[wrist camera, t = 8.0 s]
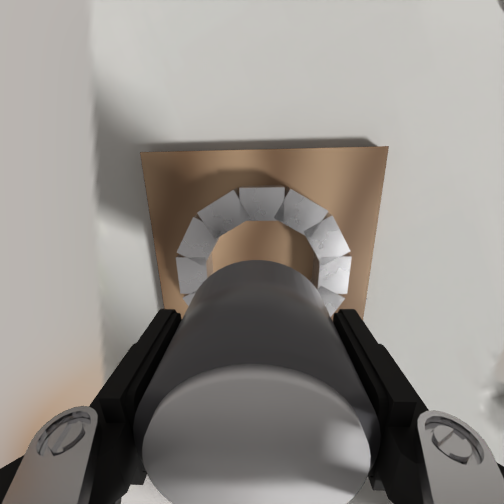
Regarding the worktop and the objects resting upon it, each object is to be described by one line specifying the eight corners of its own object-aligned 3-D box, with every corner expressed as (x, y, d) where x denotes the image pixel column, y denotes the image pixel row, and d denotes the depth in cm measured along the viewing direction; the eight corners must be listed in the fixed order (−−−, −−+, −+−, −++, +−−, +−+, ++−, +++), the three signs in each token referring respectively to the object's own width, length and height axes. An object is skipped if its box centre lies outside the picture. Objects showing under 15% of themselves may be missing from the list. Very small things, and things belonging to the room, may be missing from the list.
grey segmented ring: (348, 183, 16) (359, 185, 14) (333, 330, 20) (340, 347, 18) (177, 187, 17) (166, 189, 15) (193, 328, 20) (186, 345, 18)
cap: (329, 256, 10) (409, 359, 4) (323, 374, 12) (373, 539, 6) (179, 263, 10) (93, 366, 5) (198, 377, 12) (152, 537, 7)
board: (379, 147, 16) (388, 146, 15) (353, 343, 22) (358, 352, 20) (148, 153, 17) (140, 152, 16) (175, 341, 22) (170, 350, 21)
